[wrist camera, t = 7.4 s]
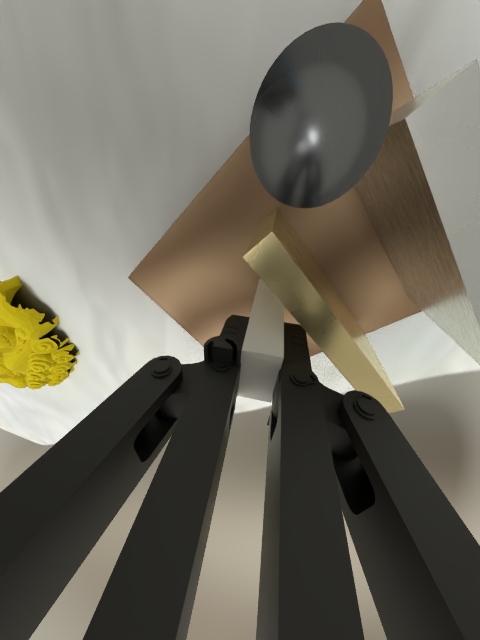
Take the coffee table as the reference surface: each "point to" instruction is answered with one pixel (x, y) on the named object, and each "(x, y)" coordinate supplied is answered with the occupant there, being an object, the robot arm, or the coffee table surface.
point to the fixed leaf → (381, 162)
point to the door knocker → (29, 345)
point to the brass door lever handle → (317, 307)
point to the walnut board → (243, 221)
